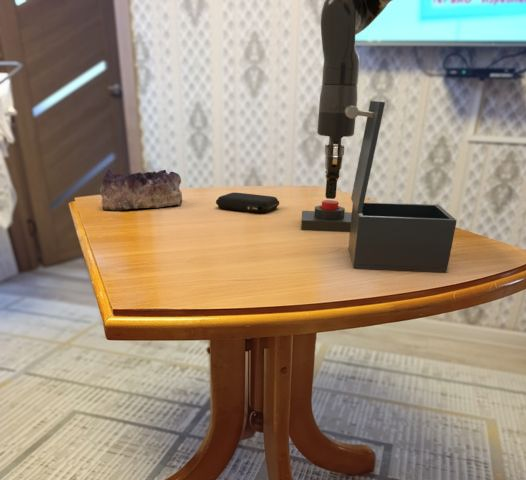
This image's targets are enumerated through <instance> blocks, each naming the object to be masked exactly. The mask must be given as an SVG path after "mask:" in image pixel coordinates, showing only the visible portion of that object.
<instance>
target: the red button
mask: <svg viewBox="0 0 526 480" xmlns="http://www.w3.org/2000/svg"><path fill="white" fill-rule="evenodd" d="M321 205H322V209H325V210H338V206H339V201H338V200H334V199H326V200H322V201H321Z"/></svg>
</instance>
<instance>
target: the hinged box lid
mask: <svg viewBox="0 0 526 480" xmlns="http://www.w3.org/2000/svg"><path fill="white" fill-rule="evenodd" d="M385 105H386V102H385V101H380V100H370V101H369V106H368V110H361V109H359V107H356V106H353V105H349V106H347V107H346V109H345V114H346V116H347V117H349V118H351V119H354V118H355V119H356V118H357V117H366V121H365V126H364V132H363V136H362V140H361V141H362V142H361V146H360V150H359V151H360V152H359V157H358V162H357V167H356V172H355V176H354V182H353V185H352V186H353V187H352V191H351V196H350V199H351V202H352V205H353V204H354V207H355V209H356V212H357V213H359V214H362V210H363V205H364V202H365V200H366V194H367V191H368V187H369V181H370V176H371V171H372V167H373V162H374V157H375V153H376V148H377V143H378V140H379V139H378V138H379V134H380V129H381V124H382V120H383V116H384V115H383V114H384V111H385Z"/></svg>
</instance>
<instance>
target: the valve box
mask: <svg viewBox="0 0 526 480" xmlns="http://www.w3.org/2000/svg"><path fill="white" fill-rule="evenodd" d="M351 213H352V216H351V226H350V232H349V238H348V248H347V249H348V252H349V256H350V259H351V264H352V267H353V269H354V270H356V269H357V270H358V269H359V270H379V271H399V272H400V271H401V272H422V273H442V274H443V273H445V274H446V273H448V268H449V264H450V263H449V262H450V258H451V252H452V247H453V242H454V237H455V232H456V227H457V219H456V218H455V217H454V216H453V215H452V214H450V213H449V212H448V211H447V210H445V208H443V206H441V205H440V204H426V203H420V204H419V203H398V202H373V201H371V202H370V201H364V205H363V210H362V214H359V213H357V212H356V209H355V207H354V204H353V203H352V208H351Z"/></svg>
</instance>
